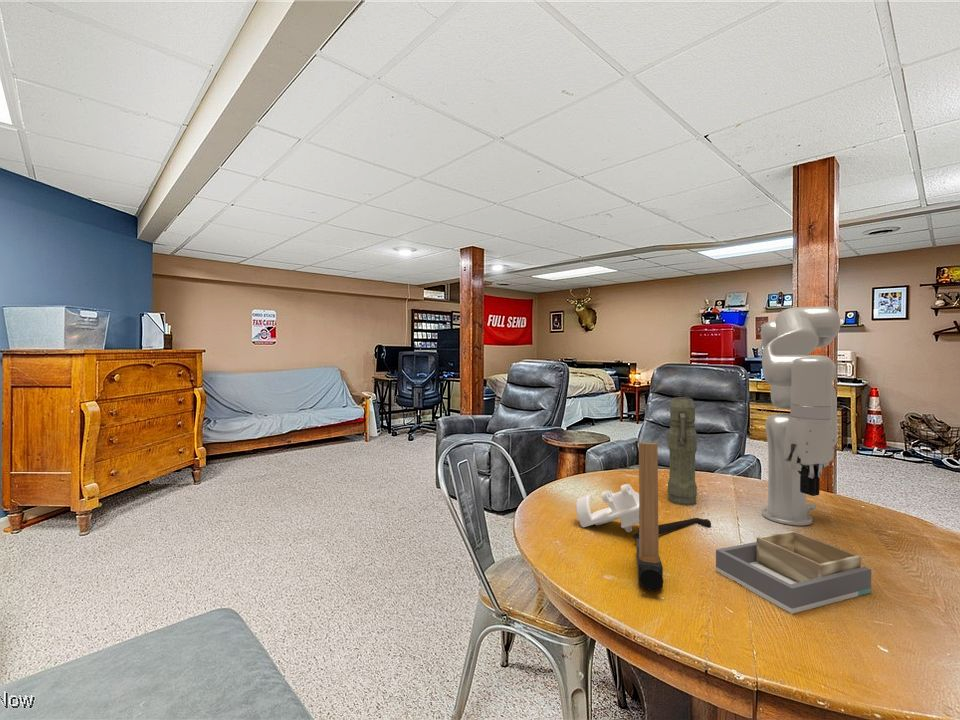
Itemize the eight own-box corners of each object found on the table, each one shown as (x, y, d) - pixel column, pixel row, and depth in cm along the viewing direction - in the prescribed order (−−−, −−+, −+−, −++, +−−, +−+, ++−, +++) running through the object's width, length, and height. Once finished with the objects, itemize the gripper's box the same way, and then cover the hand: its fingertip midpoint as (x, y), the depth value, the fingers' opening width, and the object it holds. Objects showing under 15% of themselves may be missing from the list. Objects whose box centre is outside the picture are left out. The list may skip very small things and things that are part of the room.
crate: (793, 553, 110) (793, 530, 110) (860, 583, 96) (860, 556, 96) (756, 561, 106) (756, 537, 106) (820, 593, 92) (821, 565, 92)
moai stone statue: (693, 496, 157) (694, 396, 156) (699, 508, 146) (700, 399, 145) (666, 494, 159) (666, 395, 159) (669, 505, 148) (670, 399, 147)
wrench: (712, 534, 130) (646, 552, 114) (696, 529, 135) (629, 546, 118) (712, 515, 131) (646, 531, 114) (696, 511, 135) (629, 525, 119)
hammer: (636, 563, 113) (635, 441, 117) (657, 566, 111) (656, 442, 116) (638, 589, 94) (637, 442, 99) (664, 592, 92) (662, 444, 97)
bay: (787, 555, 112) (788, 535, 112) (870, 592, 95) (871, 569, 95) (715, 570, 104) (715, 549, 104) (791, 613, 87) (792, 588, 87)
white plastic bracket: (588, 547, 128) (568, 503, 131) (603, 534, 137) (584, 493, 141) (653, 530, 118) (630, 482, 121) (664, 517, 127) (642, 472, 130)
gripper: (817, 408, 107) (815, 484, 108) (770, 412, 102) (769, 492, 103) (852, 412, 100) (850, 494, 100) (803, 417, 95) (802, 503, 96)
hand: (809, 493), depth 102 cm, fingers closed
